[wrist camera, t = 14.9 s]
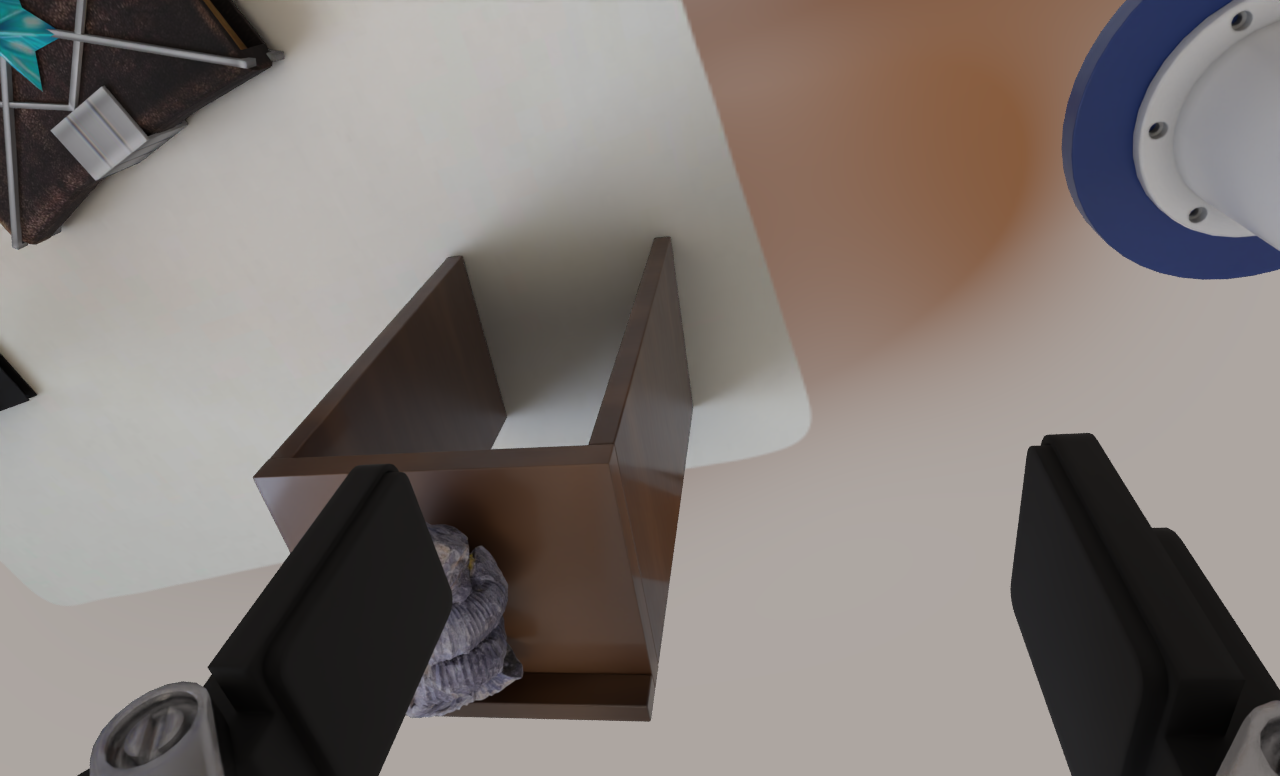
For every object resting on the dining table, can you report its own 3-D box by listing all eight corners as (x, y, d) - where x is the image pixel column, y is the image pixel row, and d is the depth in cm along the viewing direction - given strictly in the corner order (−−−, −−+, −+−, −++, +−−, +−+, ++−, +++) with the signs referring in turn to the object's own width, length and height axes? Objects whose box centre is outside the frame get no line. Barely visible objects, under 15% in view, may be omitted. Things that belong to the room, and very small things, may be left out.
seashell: (502, 643, 35) (456, 459, 30) (552, 730, 31) (507, 533, 26) (384, 700, 33) (313, 512, 28) (420, 802, 28) (344, 602, 24)
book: (62, 233, 51) (-1, 262, 47) (-177, -18, 44) (-275, -9, 40) (289, 57, 43) (238, 74, 39) (41, -280, 36) (-53, -304, 32)
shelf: (670, 236, 46) (600, 493, 26) (693, 407, 52) (651, 722, 32) (447, 256, 48) (227, 504, 28) (493, 417, 54) (339, 714, 34)
